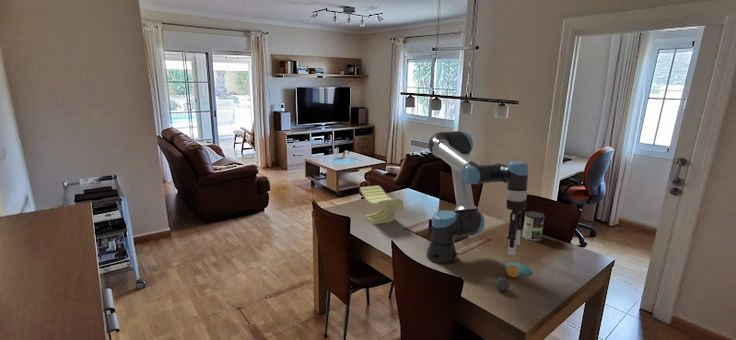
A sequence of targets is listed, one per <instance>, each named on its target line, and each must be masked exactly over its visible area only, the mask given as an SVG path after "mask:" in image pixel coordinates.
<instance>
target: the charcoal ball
mask: <svg viewBox="0 0 736 340" xmlns="http://www.w3.org/2000/svg"><path fill="white" fill-rule="evenodd" d="M495 287H496V288H497V289H498V290H499V291H502V292H503V291H506V290H508V289H509V287H510V282H509V280H508V279H507V278H505V277H502V276H501V277H498V278H497V279H496V280H495Z"/></svg>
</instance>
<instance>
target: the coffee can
mask: <svg viewBox="0 0 736 340" xmlns="http://www.w3.org/2000/svg"><path fill="white" fill-rule="evenodd" d="M545 217H546V216H545V214H544V213H542V212H539V211H533V210H529V211H524V221H523V229H522V237H523V238H524V239H526V240H529V241H534V242H536V241H537V242H539V241H542V237H543V230H544V223H545V222H544V221H545Z"/></svg>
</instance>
